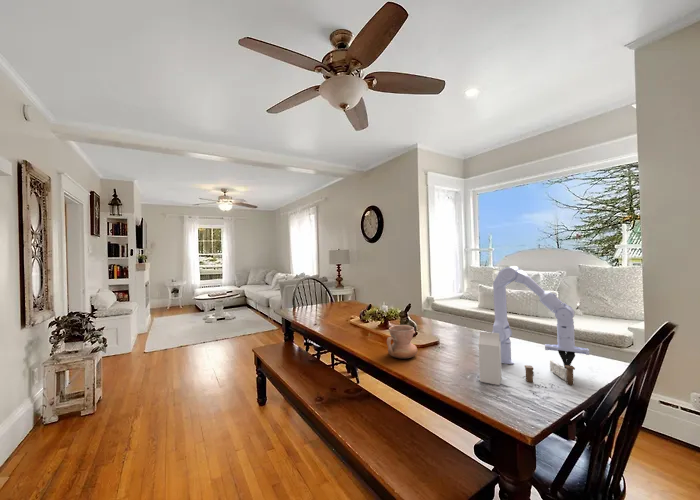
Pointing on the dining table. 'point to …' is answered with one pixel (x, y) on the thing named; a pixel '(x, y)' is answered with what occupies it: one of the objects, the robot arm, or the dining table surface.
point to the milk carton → (490, 358)
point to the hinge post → (570, 374)
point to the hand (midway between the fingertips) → (566, 369)
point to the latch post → (529, 373)
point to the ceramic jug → (401, 342)
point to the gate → (558, 370)
